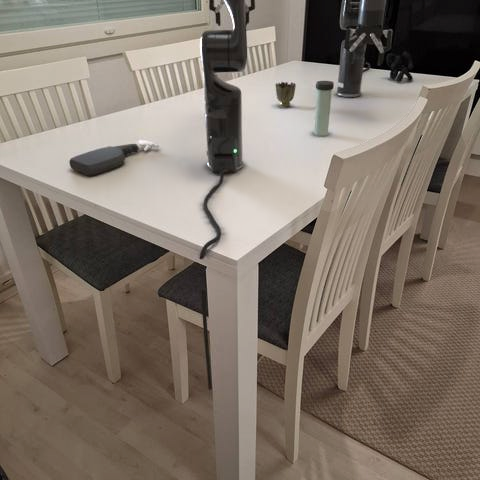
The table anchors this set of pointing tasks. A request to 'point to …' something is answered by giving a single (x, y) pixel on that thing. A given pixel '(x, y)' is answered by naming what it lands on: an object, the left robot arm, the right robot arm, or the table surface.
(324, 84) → the lid
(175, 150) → the table surface
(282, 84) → the cup
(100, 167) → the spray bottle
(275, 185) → the table surface
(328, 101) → the jar
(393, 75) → the squiggle
